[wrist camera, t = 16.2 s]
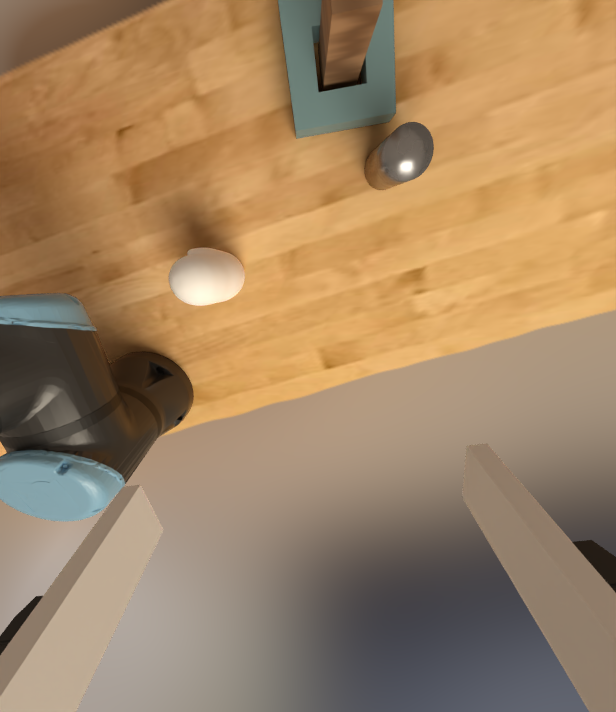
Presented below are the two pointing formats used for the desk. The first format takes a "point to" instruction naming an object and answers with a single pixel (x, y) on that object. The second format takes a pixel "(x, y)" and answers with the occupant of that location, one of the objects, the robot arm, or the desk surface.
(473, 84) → the desk surface
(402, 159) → the round bit
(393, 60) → the socket block
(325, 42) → the square bit
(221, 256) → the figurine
